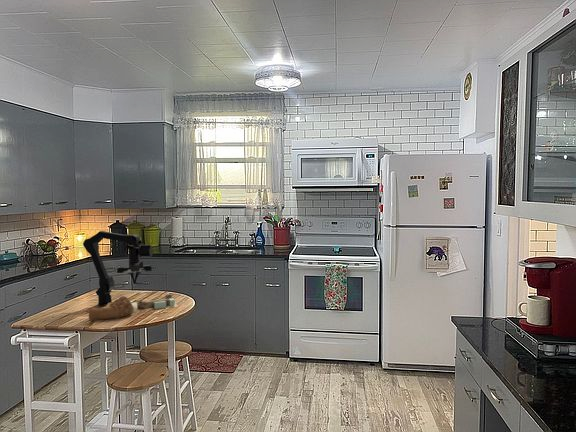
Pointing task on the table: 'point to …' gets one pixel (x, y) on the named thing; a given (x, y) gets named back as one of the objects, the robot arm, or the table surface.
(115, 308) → the tan rounded lump
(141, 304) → the hinged leg
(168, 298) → the board
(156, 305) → the socket blocks
